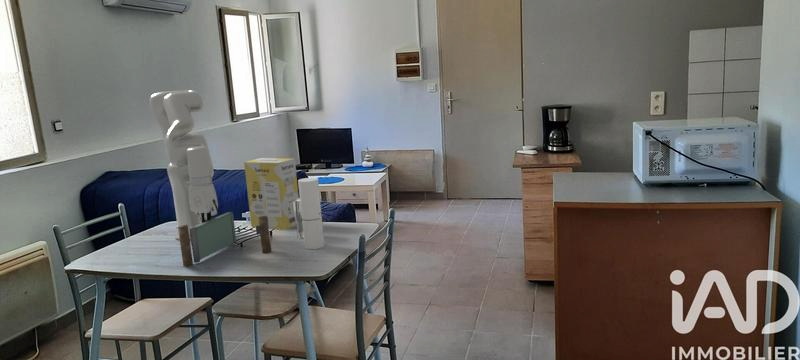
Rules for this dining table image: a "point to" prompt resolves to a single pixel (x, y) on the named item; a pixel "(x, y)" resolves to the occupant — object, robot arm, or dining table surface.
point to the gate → (212, 236)
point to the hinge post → (185, 245)
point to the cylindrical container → (311, 213)
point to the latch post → (264, 234)
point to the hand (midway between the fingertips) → (207, 229)
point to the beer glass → (298, 217)
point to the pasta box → (272, 191)
